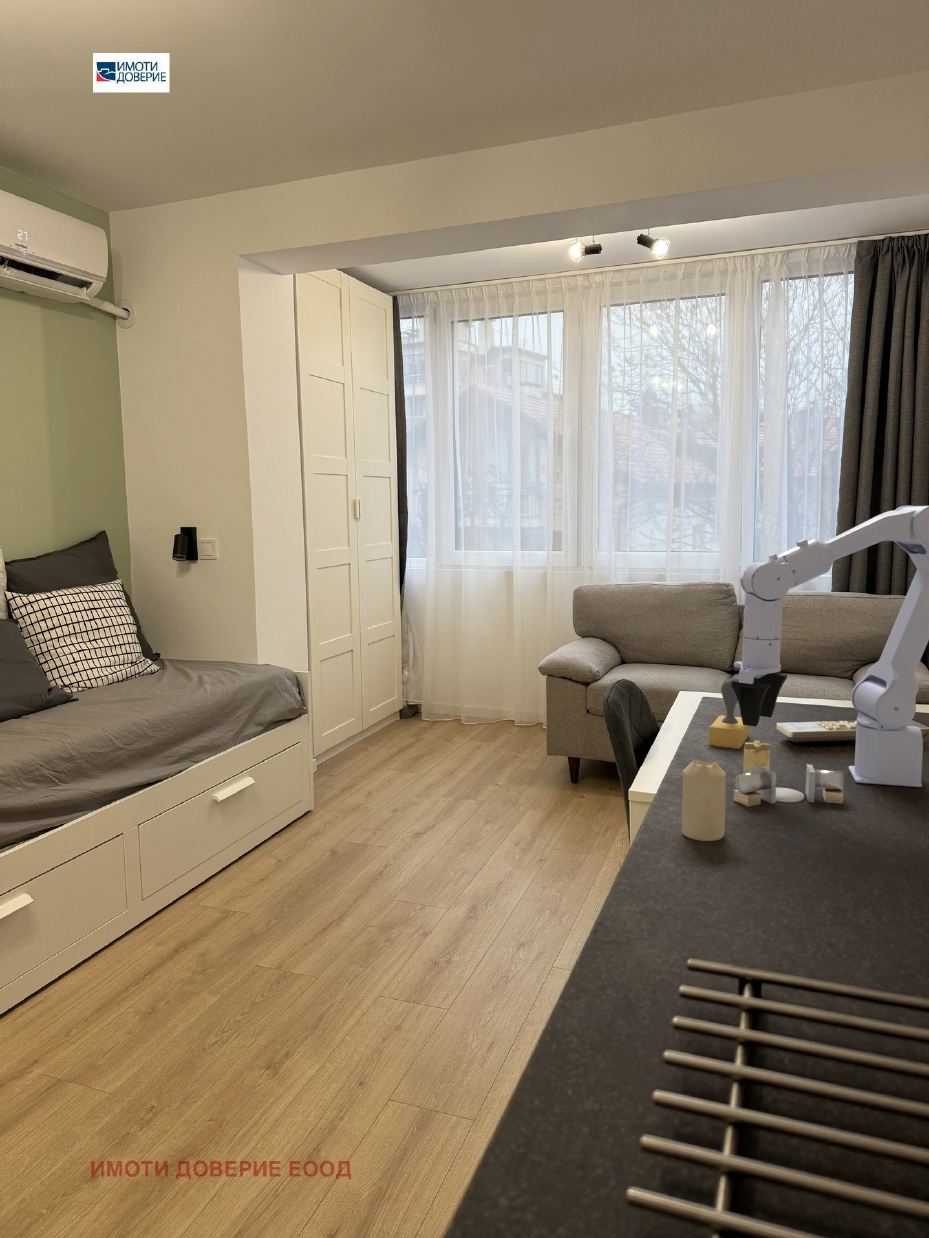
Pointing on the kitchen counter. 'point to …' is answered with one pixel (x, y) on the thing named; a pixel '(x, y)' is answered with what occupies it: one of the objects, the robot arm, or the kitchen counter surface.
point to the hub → (756, 756)
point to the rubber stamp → (728, 723)
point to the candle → (703, 801)
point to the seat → (788, 795)
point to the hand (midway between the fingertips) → (757, 720)
